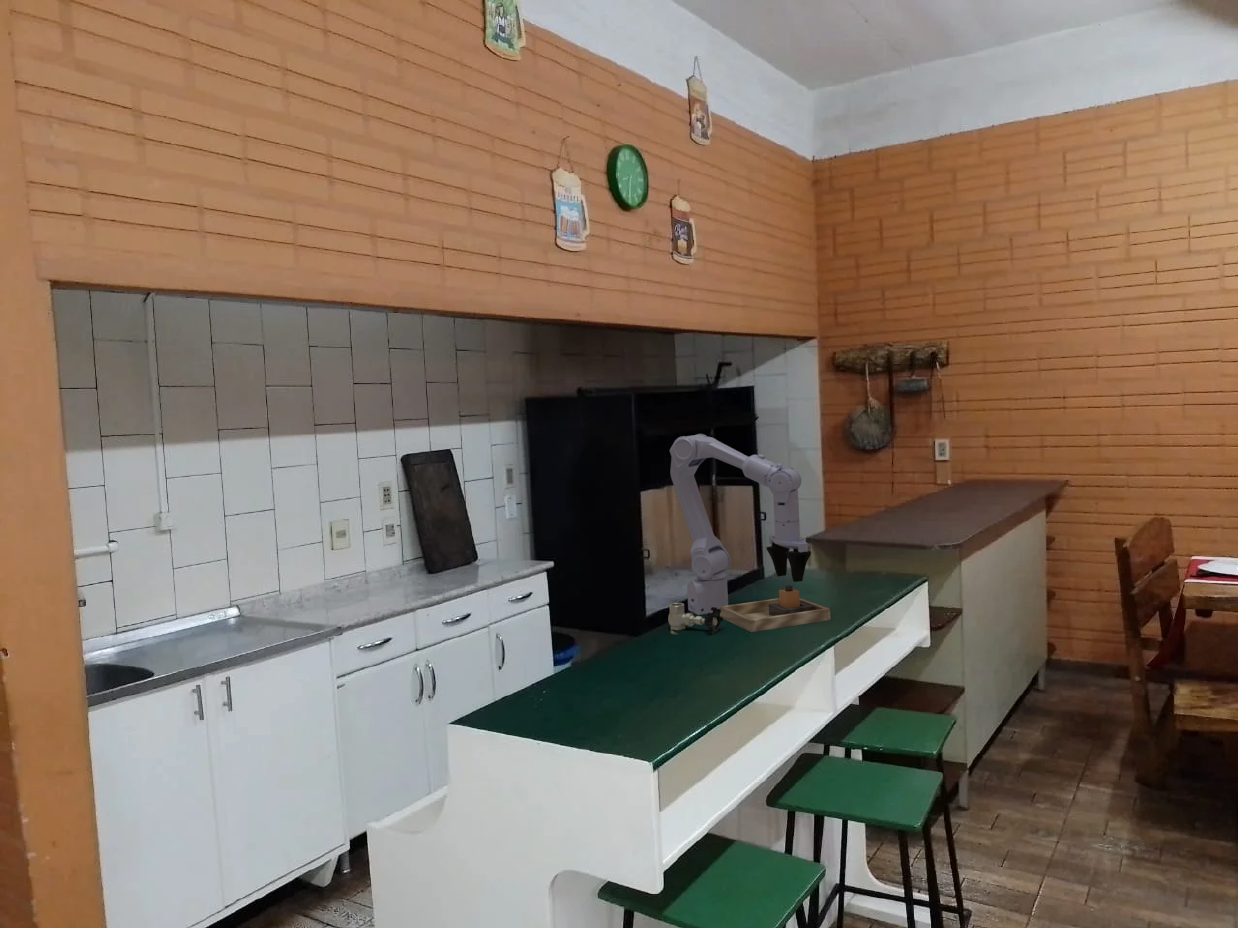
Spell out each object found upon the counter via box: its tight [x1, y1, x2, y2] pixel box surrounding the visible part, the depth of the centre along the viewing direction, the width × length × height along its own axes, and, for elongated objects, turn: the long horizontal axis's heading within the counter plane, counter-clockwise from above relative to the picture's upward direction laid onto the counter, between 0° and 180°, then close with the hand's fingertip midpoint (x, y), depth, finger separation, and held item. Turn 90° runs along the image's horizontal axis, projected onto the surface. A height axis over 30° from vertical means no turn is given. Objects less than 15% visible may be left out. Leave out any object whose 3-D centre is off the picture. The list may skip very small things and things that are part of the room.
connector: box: [778, 584, 801, 608], centre depth 216 cm, size 3×3×7 cm
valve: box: [667, 602, 724, 635], centre depth 210 cm, size 7×7×12 cm
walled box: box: [720, 597, 831, 633], centre depth 215 cm, size 20×16×4 cm
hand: (789, 578), depth 216 cm, fingers open, 7 cm apart
